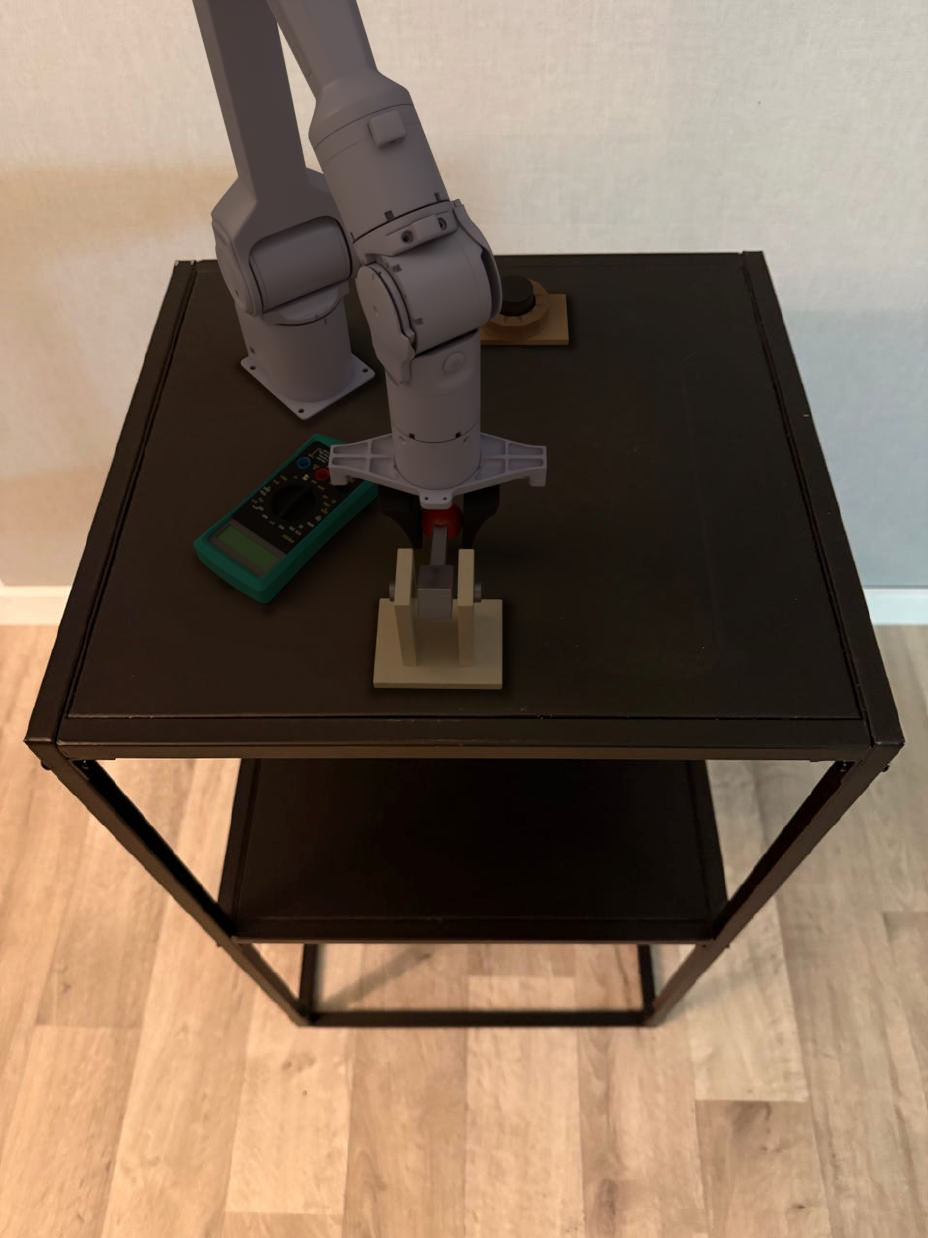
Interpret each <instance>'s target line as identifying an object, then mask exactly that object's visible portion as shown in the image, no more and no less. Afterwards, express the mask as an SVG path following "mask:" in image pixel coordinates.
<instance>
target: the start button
mask: <svg viewBox="0 0 928 1238" xmlns="http://www.w3.org/2000/svg"><path fill="white" fill-rule="evenodd" d="M529 279H530V278H527V277H526V276H523V275H520V274H506V275H503V276H500V280H501V286H502V307H501V310H500V313H499V314H501V315H504V316H507V317H518V316H522V315H524V314H526V313H527V312H529V311H530V309H531V308H532V305H533V289H534V288H533V285H532V283H531V281H530V280H531V279H530V280H529Z"/></svg>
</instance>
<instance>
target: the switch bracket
mask: <svg viewBox="0 0 928 1238" xmlns="http://www.w3.org/2000/svg"><path fill="white" fill-rule="evenodd" d="M396 554H397V555H396V556H397V557H396V569H395V570H396V571H395V580H390V581H389V586H388V587H389V588H388V592H389V593H388V595H389V598H387V597H385V598H383V597H382V598H379V602H378V604H379V605H378V614H377V630H376V642H375V655H374V667H373V678H372V679H373V680H372V683H373V687H374V688H375V689H443V690H445V689H446V690H447V689H449V690H450V689H451V690H502V689H503V599H499V598H498V599H496V598H495V599H490V598H487V599H486V598H483V599H482V584H483V582H482V581H480V580H479V581H478V580H476V581H475V549H473V548H471V549H462V548H459V549H458V567H457V568H458V572H457V598H453V611H452V619H419V618H418V596H417V587H418V583H417V575H416V565H415V556H414V555H415V554H414V548H398V549H397V553H396Z"/></svg>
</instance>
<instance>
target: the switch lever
mask: <svg viewBox="0 0 928 1238" xmlns="http://www.w3.org/2000/svg"><path fill="white" fill-rule="evenodd" d="M421 509H422V511H421V514H420V525H421V528H422V530H423V534H425V536H426V537H427V538H429V539H430V540H431V543H430V552H429V553H430V555H429V564H419V568H418V577H417V596H418V618H419V619H452V611H453V599H454V565H453V564H447V562H448V548H449V541H451V540H453V539H455V538H456V537H457V536H458V535H459V534H460V532H461V530H463V510H462V509H461V507H460V506H459V505H458V504H457V503H456V502H455V501H454V500H452V505H451V507H449V508H448V509H425V508H423V507H422V508H421Z"/></svg>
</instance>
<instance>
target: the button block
mask: <svg viewBox="0 0 928 1238" xmlns="http://www.w3.org/2000/svg"><path fill="white" fill-rule="evenodd" d="M528 279H529V280H530V281H531V283H532V285H533V288H534V289H533V305H532V308H531V309H530V311H529V312H527V313H526V314H524V315H522V316H518V317H507V316H504V315H501V314H499V315H498V316H497V317H496V318H495V319H493V320H488V322H487V323H486V324H485V325H483V326H480V328H481V330H480V346H568V345H569V340H570V339H569V323H568V309H567V295H566V293H548V292H547V290H546V289H545V288H544V287H543V286H542V285H541V283H540V282H538V281H535V280H533V279H530V278H528Z"/></svg>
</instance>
